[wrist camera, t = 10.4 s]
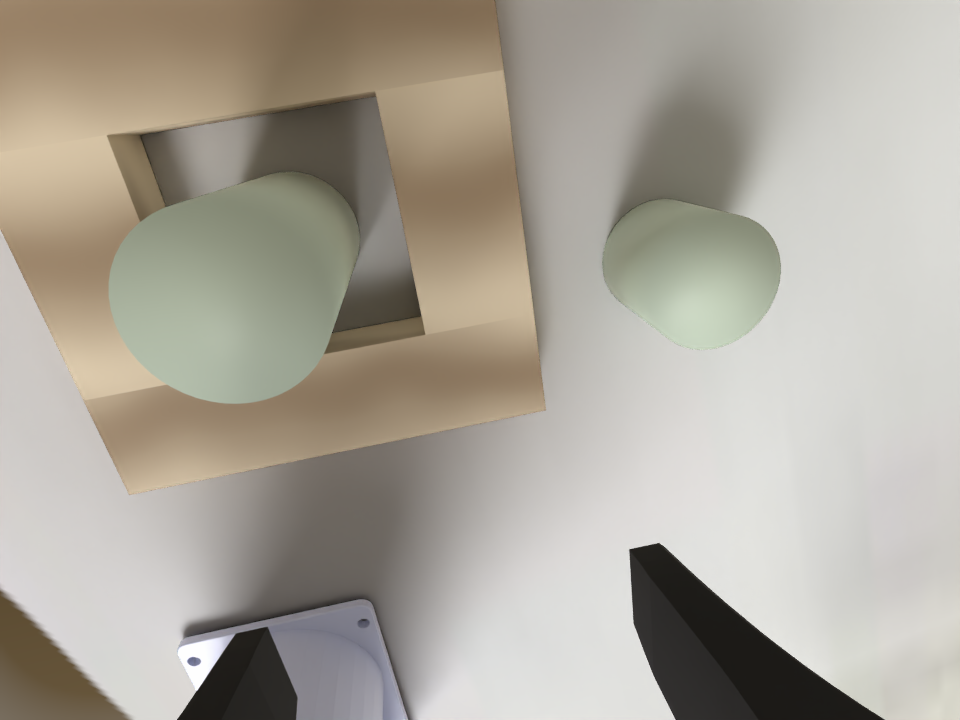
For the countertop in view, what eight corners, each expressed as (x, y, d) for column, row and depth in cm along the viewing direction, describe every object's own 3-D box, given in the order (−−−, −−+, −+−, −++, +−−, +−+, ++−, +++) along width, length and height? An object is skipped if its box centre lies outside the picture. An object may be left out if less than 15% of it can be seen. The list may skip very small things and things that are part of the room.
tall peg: (375, 280, 19) (360, 374, 11) (259, 311, 19) (168, 426, 11) (336, 156, 17) (288, 173, 10) (208, 189, 17) (64, 232, 10)
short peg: (710, 300, 21) (777, 336, 17) (606, 320, 21) (651, 361, 17) (711, 189, 19) (784, 202, 16) (598, 209, 19) (646, 228, 15)
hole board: (533, 386, 21) (545, 410, 19) (154, 462, 20) (129, 494, 18) (474, -62, 16) (484, -89, 14) (-48, 15, 15) (-112, -2, 13)
